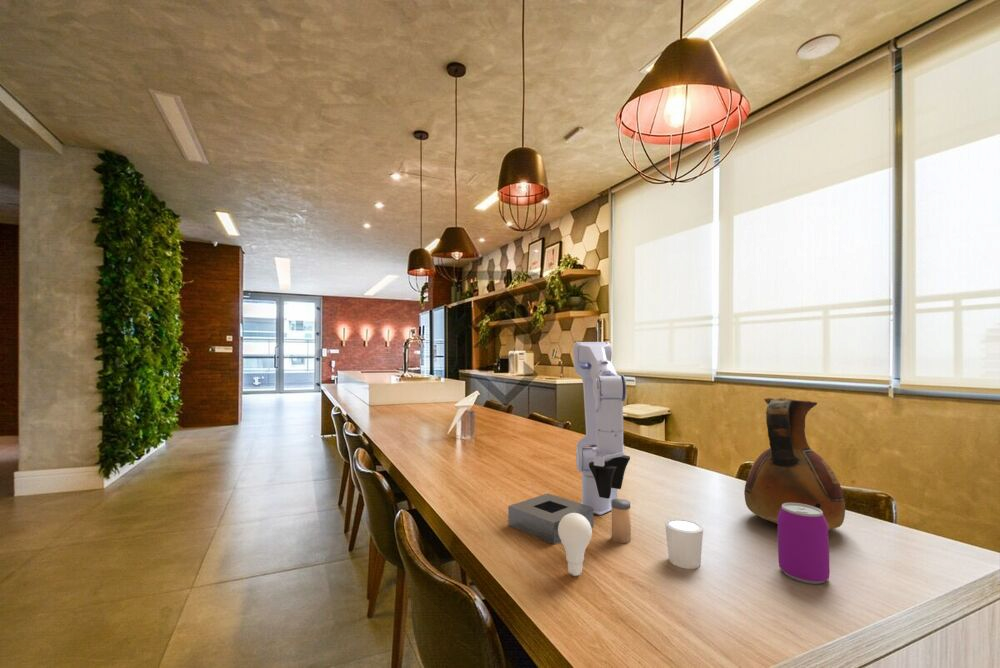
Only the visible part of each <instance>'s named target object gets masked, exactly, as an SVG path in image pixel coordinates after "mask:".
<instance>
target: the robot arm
mask: <svg viewBox="0 0 1000 668" xmlns="http://www.w3.org/2000/svg"><path fill="white" fill-rule="evenodd" d="M572 349H573V351H572V352H573V369H574V372H575V374H576V375H579V376H580V378H581V380H582V386H583V404H584V421H585V435H584V436H583V437H581V439H579V440H578V441H577V443H576V446H575V447H576V450H575V463H576V464H575V465H576V470H577V472H579V473H581V502H580V503H581V504H584V505H587V506H590V507H593V514H595V515H598V516H602V515H604V514H606V513H609V512H612V507H611V501H612V500H613V499H618V490H621V489H622V487H623V483H624V476H625V472H626V469H627V466H628V464H629V462H630V460H631V456H629V455H625V451H626V450H625V449H626V448H625V444H624V402H625V400H626V398H627V382H626V378H625V376H624V374H618V373H617V371H616V368H615V367H614V364H613V363H612V362H611V361H612V356H613V355H612V354H613V353H612V344H611V343H610V342H609V341H608V340H607V341H575V342H574V344H573V348H572Z"/></svg>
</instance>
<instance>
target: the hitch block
mask: <svg viewBox="0 0 1000 668" xmlns="http://www.w3.org/2000/svg"><path fill="white" fill-rule="evenodd" d="M581 503H582V502H577V501H574V500H570V499H567V498H564V497H562V496H557V495H555V494H551V493H545V494H541V495H539V496H535V497H532V498H529V499H526V500H523V501H520V502H519V501H518V502H517V503H514V504H510V505H508V506H507V507H508V511H507V512H508V514H507V515H508V516H507V518H508V526H509V527H512V528H514V529H516V530H519V531H520V532H523V533H526V534H527V535H530V536H533V537H534V538H535V537H536V538H537V539H541V540H542V541H545V542H547V543H549V544H552V545H556V544H559V543H560V542H561V539H560V537H559V534H558V526H559V523H560V521H561V519H562V518H563V517H564V516H565V515H567V514H569V513H579V514H581V515H583V516H584V517H585V518H586V519H587V520H588V521H589V523H590V525H591V529H592V528H594V513H593V507H590V506H587V505H584V504H581ZM561 543H562V542H561Z"/></svg>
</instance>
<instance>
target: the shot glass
mask: <svg viewBox="0 0 1000 668" xmlns="http://www.w3.org/2000/svg"><path fill="white" fill-rule="evenodd" d="M664 524H665V525H664V526H665V535H666V543H667V545H666V546H667V553H668V560H669V562H670V564H672V565H674V566H676V567H679V568H683V569H687V570H688V569H689V570H690V569H691V570H692V569H698V568H700V566H701V561H702V550H703V549H702V547H703V536H704V527H703V526H702V524H699V523H697V522H696V521H695V522H694V521H692V520H688V519H683V518H682V519H680V518H679V519H678V518H675V519H669V520H666V521H665V523H664Z"/></svg>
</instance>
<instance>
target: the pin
mask: <svg viewBox="0 0 1000 668" xmlns="http://www.w3.org/2000/svg"><path fill="white" fill-rule="evenodd" d="M611 507H612V510H611V540H612V541H613V542H616V543H620V544H628V543H631V540H632V532H631V531H632V530H631V527H632V524H631V522H632V521H631V519H632V518H631V501H630V500H628V499H625V498H617V499H613V500H612V501H611Z"/></svg>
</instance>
